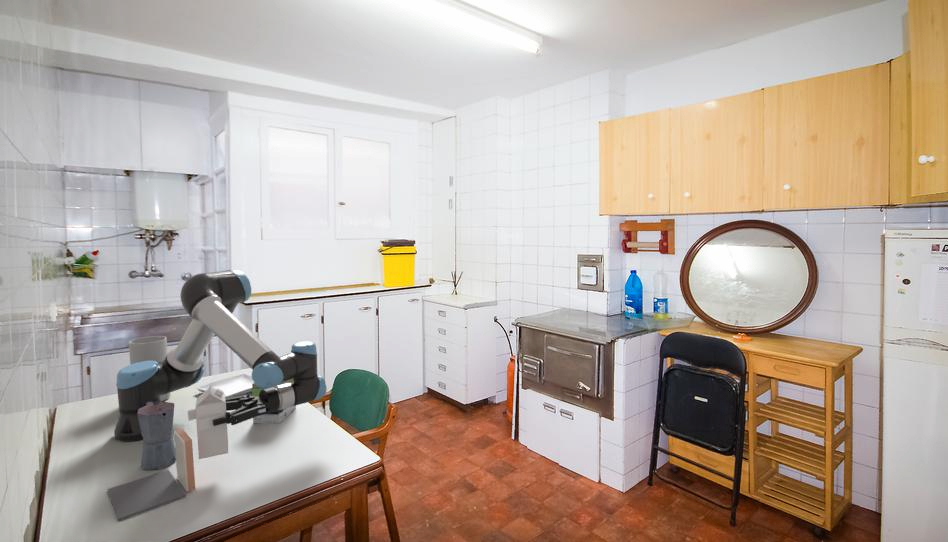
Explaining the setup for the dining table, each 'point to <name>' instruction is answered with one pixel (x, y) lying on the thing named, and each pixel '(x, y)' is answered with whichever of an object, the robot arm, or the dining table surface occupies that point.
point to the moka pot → (157, 434)
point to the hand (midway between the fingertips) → (193, 420)
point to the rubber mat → (144, 494)
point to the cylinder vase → (149, 352)
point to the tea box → (274, 416)
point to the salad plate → (232, 385)
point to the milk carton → (215, 437)
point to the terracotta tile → (184, 459)
